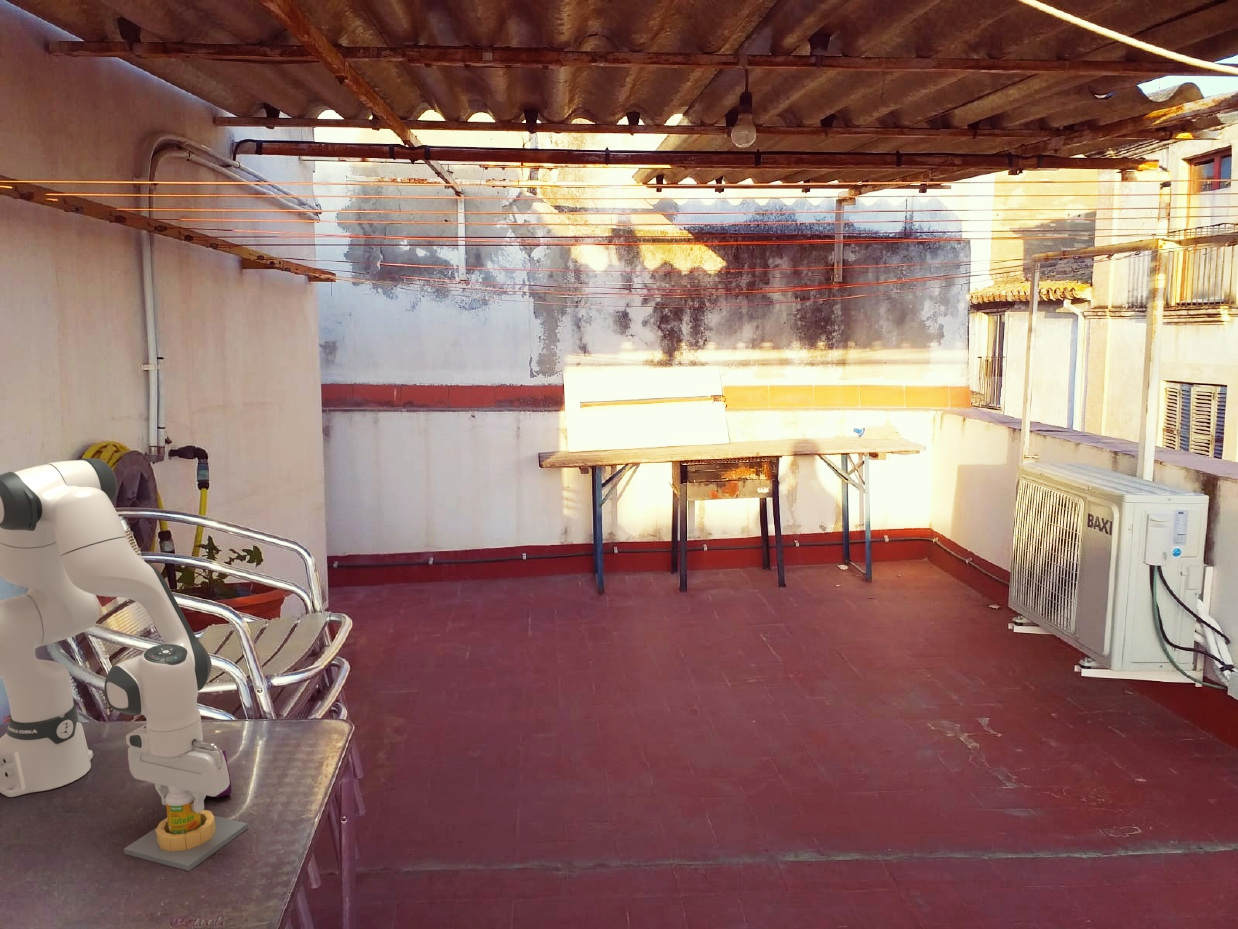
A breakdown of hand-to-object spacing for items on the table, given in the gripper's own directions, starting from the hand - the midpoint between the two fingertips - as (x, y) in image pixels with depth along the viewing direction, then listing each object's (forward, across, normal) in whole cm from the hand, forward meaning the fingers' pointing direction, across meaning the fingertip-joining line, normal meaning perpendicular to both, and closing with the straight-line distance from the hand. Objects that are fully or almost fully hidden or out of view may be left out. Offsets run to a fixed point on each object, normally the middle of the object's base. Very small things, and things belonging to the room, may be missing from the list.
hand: (183, 807), depth 173 cm
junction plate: (+7, 0, 0) cm, 7 cm away
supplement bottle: (+5, 0, 0) cm, 5 cm away
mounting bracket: (+7, +13, -15) cm, 21 cm away
